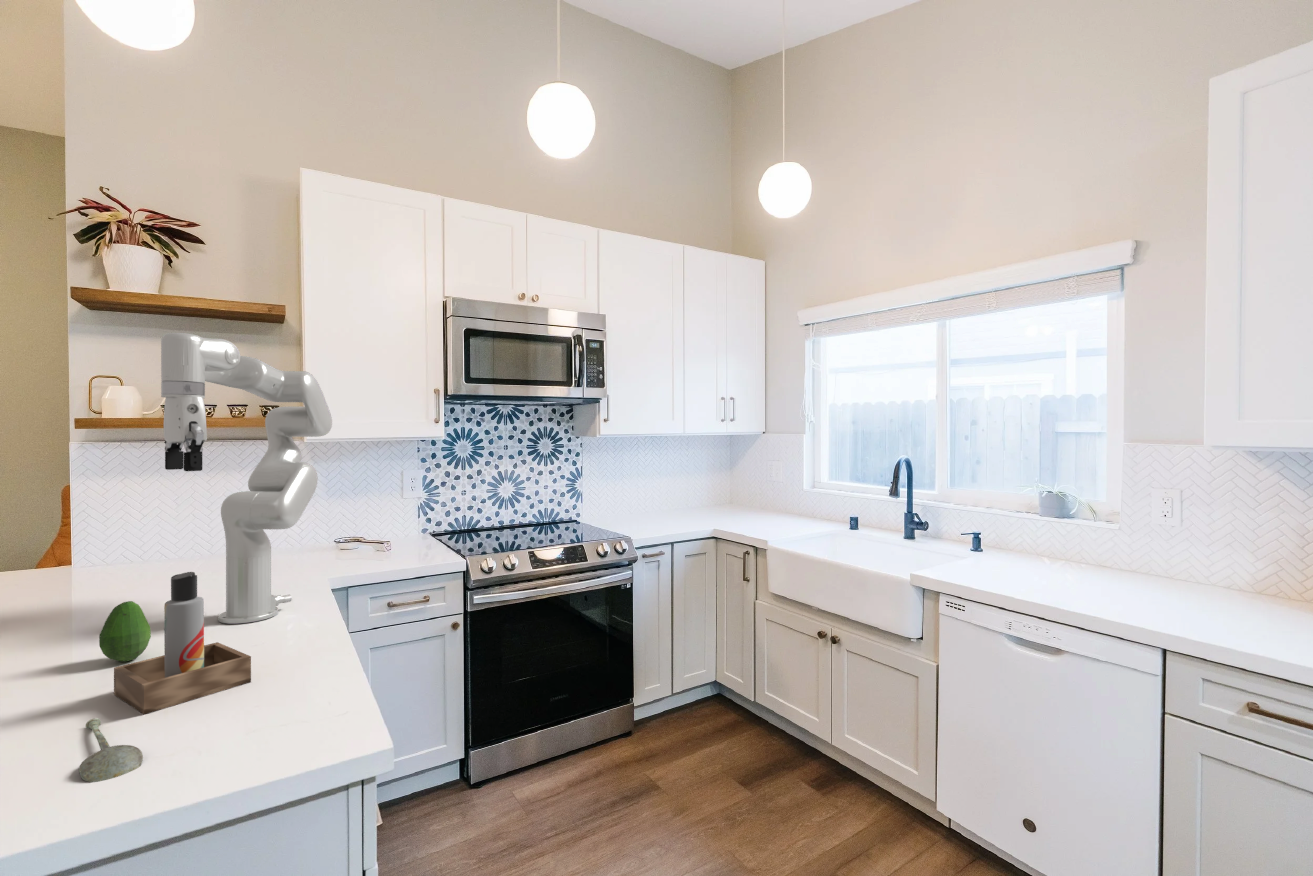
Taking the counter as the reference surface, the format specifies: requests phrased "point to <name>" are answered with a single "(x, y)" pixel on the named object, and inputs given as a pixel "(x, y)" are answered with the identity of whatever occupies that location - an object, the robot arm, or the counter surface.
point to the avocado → (125, 632)
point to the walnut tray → (180, 679)
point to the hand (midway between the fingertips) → (183, 470)
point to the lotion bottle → (183, 626)
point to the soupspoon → (108, 758)
